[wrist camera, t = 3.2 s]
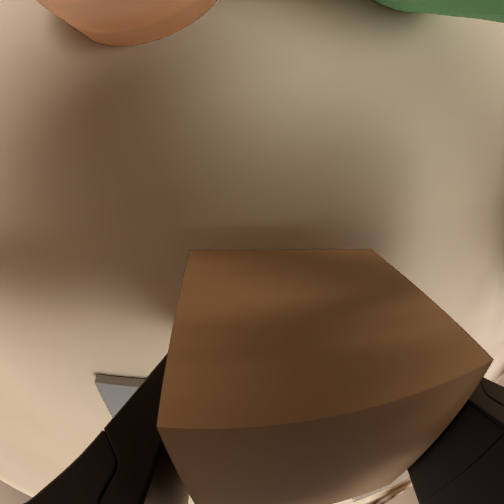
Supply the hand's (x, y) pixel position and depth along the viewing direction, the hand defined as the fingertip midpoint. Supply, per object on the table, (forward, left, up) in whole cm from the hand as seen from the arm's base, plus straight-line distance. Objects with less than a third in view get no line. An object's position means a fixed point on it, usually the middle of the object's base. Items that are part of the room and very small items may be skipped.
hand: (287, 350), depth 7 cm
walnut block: (0, 0, -1) cm, 1 cm away
